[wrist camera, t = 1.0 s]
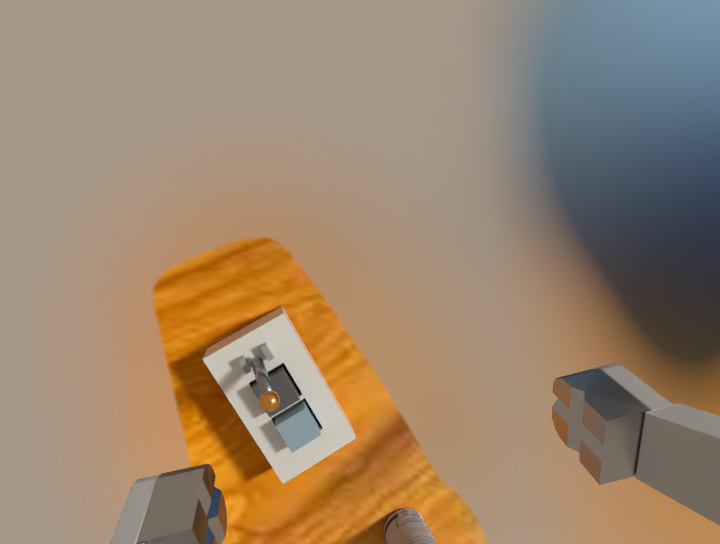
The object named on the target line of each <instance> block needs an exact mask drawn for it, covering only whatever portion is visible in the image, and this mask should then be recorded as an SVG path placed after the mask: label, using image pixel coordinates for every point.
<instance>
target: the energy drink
mask: <svg viewBox="0 0 720 544" xmlns="http://www.w3.org/2000/svg"><path fill="white" fill-rule="evenodd" d="M384 538H385V541H386V543H387V544H437V543H436V541H435V539H434V537H433V535H432V533H431V532H430V530H429V528H428V526H427V524H426V522H425V520H424V519H423V517H422V515H421V514H420V513H419V512H418V511H416V510H414V509H410V508H405V509H400V510H398V511H396V512H394V513H393V514H392V515H391V516H390V517H389V518H388V520H387V521H386V523H385V526H384Z"/></svg>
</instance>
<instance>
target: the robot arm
mask: <svg viewBox="0 0 720 544" xmlns="http://www.w3.org/2000/svg"><path fill="white" fill-rule="evenodd" d="M553 393H554V394H555V395H556V396H557V397H558V399H557V401H556V402H555V403H554V405H553V406H552V419H553V423H554V426H555V429H556V431H557V433H558V435H559V436H560V438H561V439H562V441H563V442H564V443H565V444H566V446H567V447H569V448H572V449H574V450H576V451H578V452H580V462H581V463H582V465H583V466H584V467H585V468H586V469H587V471H588V472H589V473H590V474H591V475H592V476H593V478H594V479H595V480H596V481H597V482H598V484H604V483H608V482H613V481H617V480H621V479H625V478H629V477H633V476H636V479H638V480H640V481H642V482H643V483H645V484H647V485H649V486H650V487H652V488H654V489H656V490H658V491H659V492H661V493H663V494H665V495H666V496H668V497H670V498H672V499H674V500H675V501H677V502H679V503H681V504H682V505H684V506H686V507H688V508H690V509H692V510H693V511H695V512H697V513H698V514H700V515H702V516H704V517H706V518H707V519H709V520H711V521H713V522H715V523H716V524H718V525H720V416H717V415H714V414H711V413H708V412H705V411H702V410H699V409H695V408H692V407H689V406H686V405H683V404H675V405H673V404H671V403H670V402H669V401H667V400H666V399H665V398H663V397H662V396H661V395H659V394H658V393H657V392H655V391H654V390H653V389H652V388H650V387H649V386H648V385H646V384H645V383H644V382H642V381H641V380H640V379H639V378H637V377H636V376H635V375H633V374H632V373H631V372H629V371H628V370H627V369H626V368H624V367H623V366H622V365H619V364H616V363H612V364H608V365H605V366H601V367H597V368H594V369H590V370H586V371H582V372H578V373H574V374H571V375H566V376H562V377H559V378H556V379H555V381H554V383H553ZM214 482H215V473H214V471H213V469H212V466H211V465H210V464H203V465H199V466H194V467H190V468H186V469H181V470H176V471H171V472H167V473H162V474H161V475H156V476H152V477H147V478H142V479H138V480H137V481H136V482H135V483H134V484H133V485H132V487H131V490H130V493H129V495H128V498H127V501H126V503H125V506H124V508H123V511H122V514H121V517H120V519H119V521H118V524H117V527H116V529H115V532H114V535H113V537H112V540H111V543H110V544H221V542H222V541H223V540H224V538H225V537H226V528H227V515H226V506H225V501H224V497H223V494H222V492H221V490H219V489H218V488H216V487H214Z"/></svg>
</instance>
